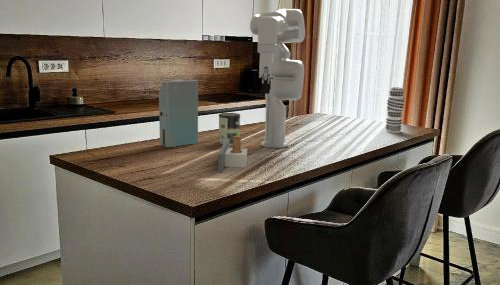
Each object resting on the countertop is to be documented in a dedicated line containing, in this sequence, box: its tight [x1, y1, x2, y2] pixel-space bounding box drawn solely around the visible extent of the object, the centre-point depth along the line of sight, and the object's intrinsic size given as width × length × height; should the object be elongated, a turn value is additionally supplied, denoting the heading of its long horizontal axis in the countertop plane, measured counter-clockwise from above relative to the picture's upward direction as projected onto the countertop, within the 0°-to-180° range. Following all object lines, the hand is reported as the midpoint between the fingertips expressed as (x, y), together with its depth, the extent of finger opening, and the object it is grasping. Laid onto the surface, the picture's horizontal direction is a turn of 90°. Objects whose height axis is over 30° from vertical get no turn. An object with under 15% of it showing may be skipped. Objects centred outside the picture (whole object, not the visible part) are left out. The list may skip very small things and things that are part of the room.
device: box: [158, 79, 199, 148], centre depth 214 cm, size 16×8×30 cm, turn 132°
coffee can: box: [218, 112, 241, 146], centre depth 221 cm, size 10×10×14 cm
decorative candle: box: [385, 86, 405, 134], centre depth 261 cm, size 9×9×25 cm
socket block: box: [224, 147, 248, 168], centre depth 182 cm, size 10×8×5 cm
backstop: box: [217, 138, 231, 174], centre depth 181 cm, size 28×18×8 cm, turn 177°
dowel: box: [232, 136, 242, 153], centre depth 181 cm, size 3×3×10 cm
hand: (266, 91), depth 187 cm, fingers open, 9 cm apart
